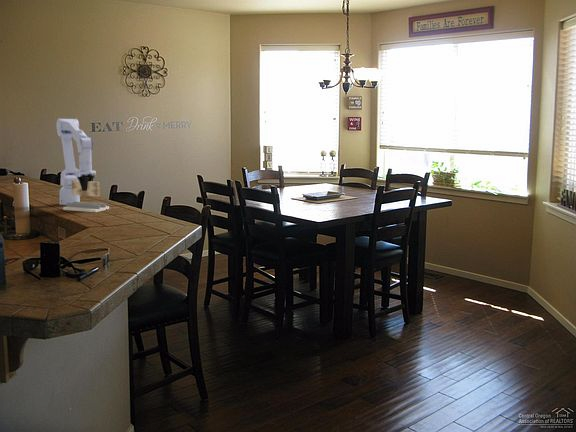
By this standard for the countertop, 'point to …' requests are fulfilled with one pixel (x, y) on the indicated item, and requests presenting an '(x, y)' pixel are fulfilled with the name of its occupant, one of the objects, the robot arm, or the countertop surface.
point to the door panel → (92, 189)
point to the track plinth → (86, 206)
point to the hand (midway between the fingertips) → (86, 190)
